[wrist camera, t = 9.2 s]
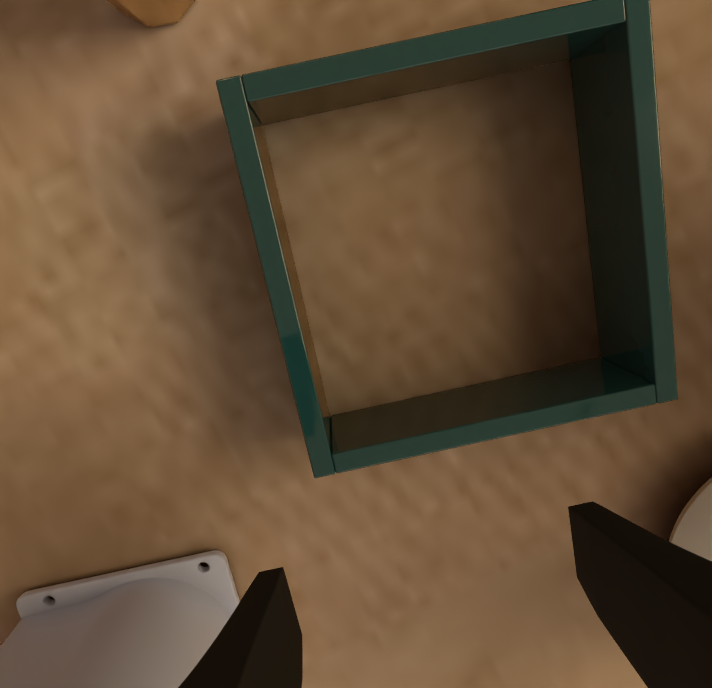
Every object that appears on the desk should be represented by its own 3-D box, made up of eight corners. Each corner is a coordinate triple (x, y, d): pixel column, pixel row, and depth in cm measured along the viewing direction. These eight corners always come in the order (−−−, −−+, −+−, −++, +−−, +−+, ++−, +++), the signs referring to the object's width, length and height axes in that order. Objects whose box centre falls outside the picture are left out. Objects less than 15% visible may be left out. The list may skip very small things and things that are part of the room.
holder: (316, 436, 23) (314, 479, 19) (236, 107, 20) (214, 79, 16) (619, 370, 23) (678, 399, 19) (587, 33, 20) (650, -13, 16)
